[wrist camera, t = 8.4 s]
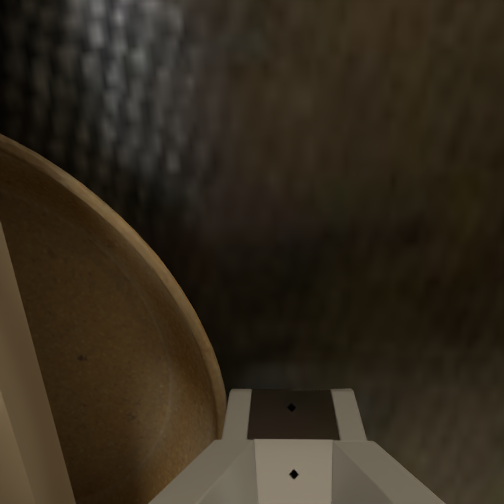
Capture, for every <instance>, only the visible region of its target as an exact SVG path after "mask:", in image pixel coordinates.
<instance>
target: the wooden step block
mask: <svg viewBox="0 0 504 504" xmlns="http://www.w3.org/2000/svg"><path fill="white" fill-rule="evenodd" d="M0 504H76V502H75V498H74V495H73V491H72V487H71V483H70V480H69V476H68V472H67V469H66V465H65V461H64V457H63V454H62V450H61V446H60V442H59V439H58V435H57V431H56V427H55V424H54V420H53V416H52V412H51V409H50V405H49V401H48V397H47V394H46V390H45V386H44V382H43V379H42V375H41V371H40V367H39V364H38V360H37V356H36V352H35V349H34V345H33V341H32V337H31V334H30V330H29V326H28V322H27V319H26V315H25V311H24V307H23V304H22V300H21V296H20V292H19V289H18V285H17V281H16V278H15V274H14V270H13V266H12V263H11V259H10V255H9V251H8V248H7V244H6V240H5V236H4V233H3V229H2V225H1V221H0Z"/></svg>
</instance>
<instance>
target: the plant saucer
mask: <svg viewBox="0 0 504 504" xmlns="http://www.w3.org/2000/svg"><path fill="white" fill-rule="evenodd" d="M0 221H1V225H2V229H3V233H4V236H5V240H6V244H7V248H8V251H9V255H10V259H11V263H12V266H13V270H14V274H15V278H16V281H17V285H18V289H19V292H20V296H21V300H22V304H23V307H24V311H25V315H26V319H27V322H28V326H29V330H30V334H31V337H32V341H33V345H34V349H35V352H36V356H37V360H38V364H39V367H40V371H41V375H42V379H43V382H44V386H45V390H46V394H47V397H48V401H49V405H50V409H51V412H52V416H53V420H54V424H55V427H56V431H57V435H58V439H59V442H60V446H61V450H62V454H63V457H64V461H65V465H66V469H67V472H68V476H69V480H70V483H71V487H72V491H73V495H74V498H75V502H76V504H148V503H149V502H151V501H152V500H153V499H154V498H155V497H156V496H157V495H158V494H159V493H160V492H161V491H162V490H163V489H164V488H165V487H166V486H167V485H168V484H169V483H170V482H171V481H172V480H173V479H174V478H176V477H177V476H178V475H179V474H180V473H181V472H182V471H183V470H184V469H185V468H186V467H187V466H188V465H189V464H190V463H191V462H192V461H193V460H194V459H195V458H196V457H197V456H198V455H199V454H201V453H202V452H203V451H204V450H205V449H206V448H207V447H208V446H209V445H210V444H211V443H212V442H213V441H214V440H221V438H222V432H223V427H224V421H225V415H226V410H227V404H228V402H227V397H226V392H225V387H224V382H223V379H222V375H221V371H220V367H219V364H218V361H217V358H216V356H215V353H214V350H213V348H212V345H211V343H210V341H209V339H208V336H207V334H206V332H205V330H204V328H203V326H202V324H201V322H200V320H199V318H198V316H197V314H196V312H195V310H194V309H193V307H192V305H191V304H190V302H189V300H188V299H187V297H186V295H185V294H184V292H183V290H182V289H181V287H180V286H179V284H178V283H177V281H176V280H175V278H174V277H173V276H172V274H171V273H170V271H169V270H168V269H167V267H166V266H165V265H164V263H163V262H162V261H161V259H160V258H159V257H158V256H157V254H156V253H155V252H154V251H153V250H152V249H151V248H150V246H149V245H148V244H147V243H146V242H145V241H144V240H143V239H142V238H141V236H140V235H139V234H138V233H137V232H136V231H135V230H134V229H133V228H132V227H131V226H130V225H129V224H128V223H127V222H126V221H125V220H124V219H123V218H122V217H121V216H119V215H118V214H117V213H116V212H115V211H114V210H113V209H111V208H110V207H109V206H108V205H107V204H106V203H105V202H104V201H103V200H101V199H100V198H99V197H98V196H97V195H95V194H94V193H93V192H92V191H90V190H89V189H88V188H87V187H85V186H84V185H83V184H82V183H80V182H79V181H78V180H76V179H75V178H74V177H72V176H71V175H69V174H68V173H67V172H65V171H64V170H62V169H61V168H59V167H58V166H56V165H55V164H53V163H52V162H50V161H49V160H47V159H45V158H44V157H42V156H41V155H39V154H38V153H36V152H34V151H32V150H30V149H29V148H27V147H25V146H23V145H22V144H20V143H18V142H16V141H14V140H12V139H10V138H8V137H6V136H4V135H2V134H0Z"/></svg>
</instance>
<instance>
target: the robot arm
mask: <svg viewBox="0 0 504 504" xmlns="http://www.w3.org/2000/svg"><path fill="white" fill-rule="evenodd" d="M148 504H445V503H444V502H443V501H442V500H441V499H440V498H438V497H437V496H436V495H435V494H434V493H433V492H432V491H430V490H429V489H428V488H427V487H426V486H425V485H424V484H422V483H421V482H420V481H419V480H418V479H417V478H416V477H414V476H413V475H412V474H411V473H410V472H409V471H408V470H406V469H405V468H404V467H403V466H402V465H401V464H400V463H398V462H397V461H396V460H395V459H394V458H393V457H392V456H390V455H389V454H388V453H387V452H386V451H385V450H384V449H382V448H381V447H380V446H379V445H378V444H377V443H376V442H374V441H367V438H366V435H365V431H364V427H363V424H362V420H361V417H360V413H359V409H358V406H357V402H356V398H355V395H354V391H353V390H352V389H351V388H349V389H330V390H283V389H231V391H230V393H229V399H228V404H227V410H226V415H225V421H224V427H223V432H222V438H221V440H214V441H213V442H212V443H211V444H210V445H209V446H208V447H207V448H206V449H205V450H204V451H203V452H202V453H201V454H199V455H198V456H197V457H196V458H195V459H194V460H193V461H192V462H191V463H190V464H189V465H188V466H187V467H186V468H185V469H184V470H183V471H182V472H181V473H180V474H179V475H178V476H177V477H176V478H174V479H173V480H172V481H171V482H170V483H169V484H168V485H167V486H166V487H165V488H164V489H163V490H162V491H161V492H160V493H159V494H158V495H157V496H156V497H155V498H154V499H153V500H152V501H151V502H149V503H148Z"/></svg>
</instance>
